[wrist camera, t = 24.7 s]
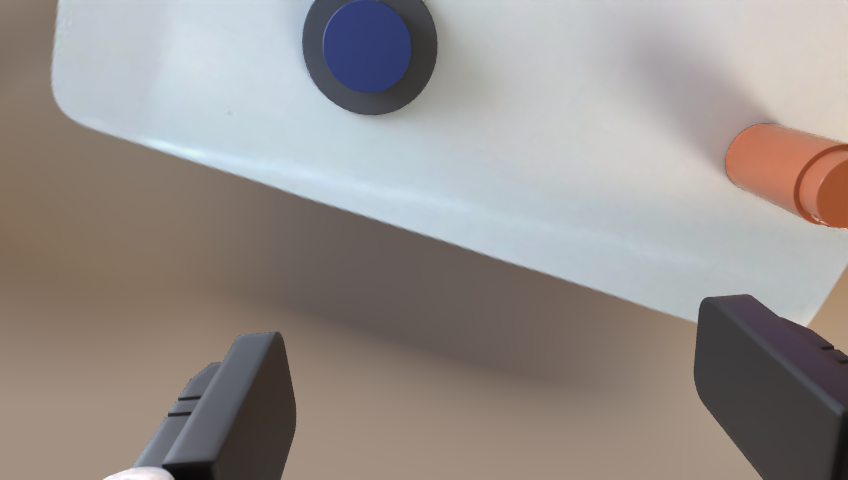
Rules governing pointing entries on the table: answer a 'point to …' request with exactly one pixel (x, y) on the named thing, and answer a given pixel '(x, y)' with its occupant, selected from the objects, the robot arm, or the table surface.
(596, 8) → the table surface
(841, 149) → the jar
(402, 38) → the lid
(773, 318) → the robot arm
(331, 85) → the coaster
